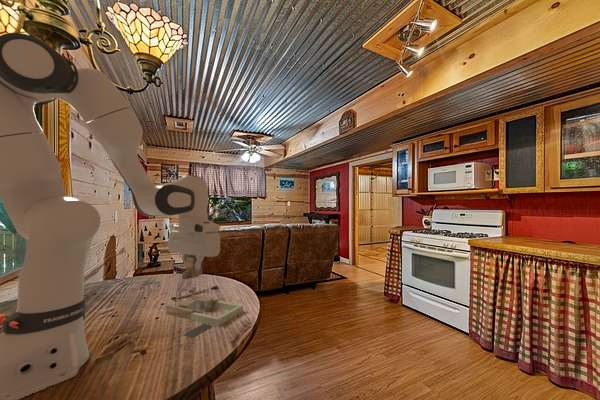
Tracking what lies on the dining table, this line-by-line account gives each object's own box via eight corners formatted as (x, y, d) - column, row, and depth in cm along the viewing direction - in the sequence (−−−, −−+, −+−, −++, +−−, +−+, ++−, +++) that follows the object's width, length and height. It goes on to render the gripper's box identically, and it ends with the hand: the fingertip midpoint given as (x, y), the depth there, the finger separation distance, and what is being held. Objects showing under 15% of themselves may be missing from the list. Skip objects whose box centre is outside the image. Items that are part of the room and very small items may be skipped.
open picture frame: (217, 327, 79) (218, 319, 79) (190, 320, 84) (191, 313, 84) (242, 312, 91) (243, 305, 91) (218, 307, 95) (218, 300, 95)
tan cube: (186, 316, 87) (186, 304, 87) (178, 314, 89) (178, 303, 89) (195, 312, 91) (196, 301, 91) (187, 310, 92) (187, 299, 92)
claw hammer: (178, 305, 100) (178, 302, 100) (170, 300, 104) (170, 297, 104) (224, 291, 116) (224, 289, 116) (216, 287, 120) (216, 285, 120)
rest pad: (193, 339, 72) (193, 337, 72) (182, 336, 73) (182, 334, 73) (213, 327, 79) (213, 326, 79) (203, 324, 81) (203, 323, 81)
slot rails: (191, 320, 84) (191, 311, 84) (165, 314, 89) (165, 305, 89) (217, 307, 95) (217, 299, 95) (193, 302, 100) (193, 294, 100)
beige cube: (204, 312, 90) (204, 301, 90) (195, 311, 92) (196, 299, 92) (212, 308, 94) (212, 297, 94) (204, 307, 96) (204, 296, 96)
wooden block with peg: (186, 279, 79) (187, 258, 80) (180, 278, 81) (180, 258, 81) (204, 274, 86) (204, 255, 86) (197, 273, 87) (198, 254, 87)
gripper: (163, 225, 85) (162, 267, 85) (209, 227, 76) (208, 274, 76) (179, 224, 91) (178, 263, 90) (223, 226, 82) (223, 269, 82)
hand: (192, 268), depth 83 cm, fingers closed on wooden block with peg, 3 cm apart
